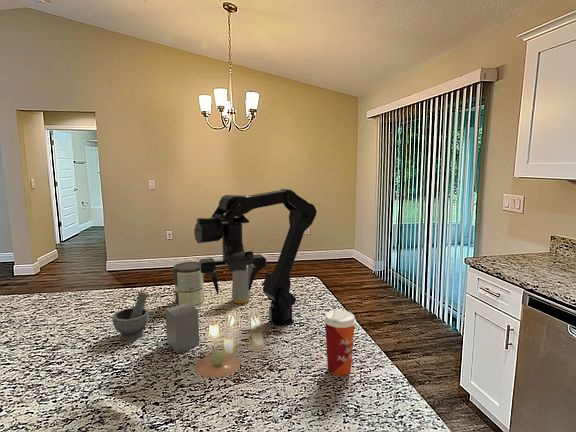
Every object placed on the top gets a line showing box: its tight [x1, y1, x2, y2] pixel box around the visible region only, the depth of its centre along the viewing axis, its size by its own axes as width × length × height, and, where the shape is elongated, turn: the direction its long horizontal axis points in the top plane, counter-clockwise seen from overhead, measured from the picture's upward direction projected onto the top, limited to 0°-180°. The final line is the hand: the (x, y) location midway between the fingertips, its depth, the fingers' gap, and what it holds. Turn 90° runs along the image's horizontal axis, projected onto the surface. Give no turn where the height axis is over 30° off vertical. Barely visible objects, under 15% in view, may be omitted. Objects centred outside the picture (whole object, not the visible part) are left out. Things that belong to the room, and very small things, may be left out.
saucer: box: [194, 349, 241, 379], centre depth 92 cm, size 11×11×5 cm
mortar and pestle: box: [112, 291, 150, 342], centre depth 111 cm, size 11×9×12 cm
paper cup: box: [323, 309, 357, 377], centre depth 92 cm, size 8×8×14 cm
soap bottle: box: [231, 265, 252, 304], centre depth 138 cm, size 7×7×18 cm
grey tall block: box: [164, 303, 200, 353], centre depth 102 cm, size 6×6×11 cm
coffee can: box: [172, 261, 205, 308], centre depth 136 cm, size 10×10×14 cm
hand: (233, 291), depth 110 cm, fingers open, 9 cm apart
